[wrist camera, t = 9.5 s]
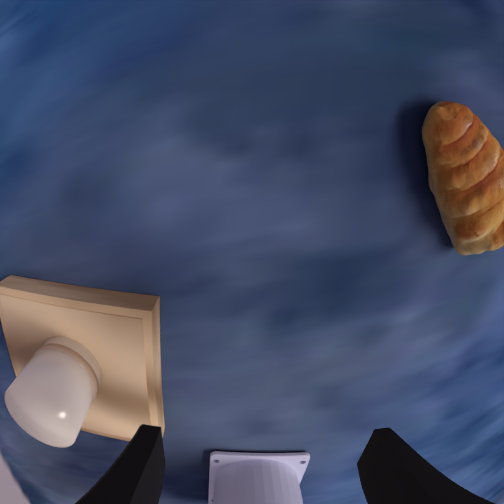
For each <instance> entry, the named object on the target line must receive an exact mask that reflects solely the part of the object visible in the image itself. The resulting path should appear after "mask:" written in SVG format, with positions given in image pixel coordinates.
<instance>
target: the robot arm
mask: <svg viewBox="0 0 504 504" xmlns="http://www.w3.org/2000/svg"><path fill="white" fill-rule="evenodd" d="M309 459H310V455H309V453H307V452H300V453H240V452H221V451H214V452H212V453H211V454H210V471H209V497H208V504H303V501H302V496H301V491H300V486H299V484H300V482H301V479H302V477H303V474H304V472H305V469H306V467H307V464H308V462H309ZM357 466H358V471H359V477H360V481H361V485H362V489H363V492H364V494H365V497H366V500H367V503H368V504H495V503H492V502H490V501H488V500H486V499H483V498H481V497H479V496H477V495H475V494H473V493H471V492H469V491H468V490H466V489H464V488H463V487H461V486H459V485H458V484H456V483H455V482H453V481H452V480H450V479H449V478H448V477H446V476H445V475H443V474H442V473H441V472H439V471H438V470H437V469H436V468H434V467H433V466H432V465H431V464H430V463H428V462H427V461H426V460H425V459H424V458H422V457H421V456H420V455H419V454H418V453H417V452H416V451H415V450H414V449H412V448H411V447H410V446H409V445H408V444H407V443H406V442H405V441H404V440H403V439H402V438H400V437H399V436H398V435H397V434H396V433H395V432H394V431H393V430H392V429H390V428H381V429H374V431H373V433H372V436H371V438H370V440H369V442H368V444H367V445H366V447H365V449H364V451H363V453H362V455H361V457H360V459H359V461H358V463H357ZM164 468H165V457H164V449H163V440H162V430H161V427H159V426H152V425H146V424H142V425H140V426H139V428H138V430H137V431H136V433H135V435H134V436H133V438H132V439H131V441H130V442H129V444H128V445H127V446H126V448H125V449H124V451H123V452H122V453H121V455H120V456H119V457H118V458H117V460H116V461H115V462H114V463H113V465H112V466H111V467H110V468H109V470H108V471H107V472H106V473H105V474H104V475H103V476H102V478H101V479H100V480H99V481H98V482H97V483H96V484H95V485H94V486H93V487H92V488H91V489H90V490H89V491H88V492H87V493H86V494H85V495H84V496H83V497H82V498H81V499H80V500H79V501H77V502H76V503H75V504H158V502H159V498H160V494H161V490H162V484H163V476H164Z"/></svg>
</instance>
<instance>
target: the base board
mask: <svg viewBox="0 0 504 504" xmlns="http://www.w3.org/2000/svg"><path fill="white" fill-rule="evenodd" d="M0 318H1V323H2V327H3V331H4V336H5V340H6V343H7V347H8V351H9V354H10V358H11V361H12V365H13V368H14V371H15V374H16V377H17V376H18V375H19V374H20V372H21V371H22V370H23V369H24V367H25V366H26V365H27V364H28V362H29V361H30V360H31V359H32V357H33V355H34V354H35V352H36V351H37V350H38V349H39V348H40V347H41V346H42V345H43V344H44V343H45V342H46V341H47V340H48V339H50V338H52V337H59V336H60V337H67V338H70V339H73V340H75V341H77V342H78V343H80V344H82V345H83V346H84V347H86V348H87V349H88V350H89V351H90V352H91V353H92V354H93V356H94V357H95V358H96V360H97V361H98V363H99V365H100V368H101V371H102V382H101V385H100V387H99V389H98V393H97V395H96V398H95V400H94V401H93V403H92V404H91V406H90V409H89V411H88V413H87V415H86V417H85V420H84V422H83V424H82V426H81V429H80V430H82V431H86V432H90V433H94V434H98V435H102V436H107V437H111V438H116V439H121V440H126V441H131V439H132V438H133V436H134V435H135V433H136V431H137V430H138V428H139V426H140V425H142V424H146V425H152V426H159V427H161V430H162V438H163V434H164V429H165V424H164V411H163V397H162V380H161V357H160V296H153V295H144V294H136V293H128V292H120V291H112V290H105V289H97V288H90V287H83V286H76V285H69V284H63V283H56V282H50V281H44V280H38V279H32V278H26V277H20V276H14V275H10V276H8V277H6V278H5V279H3V280H2V281H0Z"/></svg>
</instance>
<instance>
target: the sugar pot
mask: <svg viewBox="0 0 504 504" xmlns="http://www.w3.org/2000/svg"><path fill="white" fill-rule="evenodd" d="M101 382H102V371H101V368H100V365H99V363H98V361H97V360H96V358H95V357H94V356H93V354H92V353H91V352H90V351H89V350H88V349H87V348H86V347H84V346H83V345H82V344H80V343H78V342H77V341H75V340H73V339H70V338H67V337H60V336H59V337H52V338H50V339H48V340H47V341H46V342H45V343H44V344H43V345H42V346H41V347H40V348H39V349H38V350H37V351H36V352H35V354H34V355H33V357H32V359H31V360H30V361H29V362H28V364H27V365H26V366H25V367H24V369H23V370H22V371H21V372H20V374H19V375H18V376H17V377H16V379H15V380H14V381H13V383H12V384H11V385H10V386H9V388H8V389H7V390H6V392H5V403H6V406H7V409H8V411H9V413H10V414H11V416H12V417H13V419H14V420H15V421H16V422H17V424H18V425H19V426H20V427H21V428H22V429H23V430H25V431H26V432H27V433H28V434H30V435H31V436H32V437H34V438H36V439H37V440H39V441H41V442H43V443H45V444H48V445H51V446H55V447H68V446H71V445H72V444H73V443H74V442H75V440H76V438H77V435H78V433H79V431H80V429H81V426H82V424H83V422H84V420H85V417H86V415H87V413H88V411H89V409H90V406H91V404H92V403H93V401H94V400H95V398H96V395H97V393H98V389H99V387H100V385H101Z"/></svg>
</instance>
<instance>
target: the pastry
mask: <svg viewBox="0 0 504 504" xmlns="http://www.w3.org/2000/svg"><path fill="white" fill-rule="evenodd" d="M422 140H423V144H424V146H425V152H426V155H427V165H428V170H429V174H428V182H429V188H430V190H431V191H432V193H433V194H434V196H435V200H436V203H437V205H438V208H439V211H440V214H441V219H442V221H443V223H444V226H445V228H446V230H447V233H448V235H449V237H450V239H451V242H452V244H453V246H454V248H455V250H456V251H457V252H458V253H459V254H461V255H469V254H479V253H482V252H484V251H492V250H496V249H499V248H500V247H502V246H503V245H504V151H503V149H502V148H501V146H500V145H499V143H498V141H497V140H496V139H495V138H494V137H493V136H492V134H491V133H490V131H489V130H488V128H487V127H485V125H484V124H483V123H482V122H481V121H480V119H479V118H478V117H477V116H476V115H474V114H473V113H472V111H471V110H470V109H469V108H468V107H467V106H465V105H462V104H458V103H455V102H448V101H442V102H438V103H437V104H435V105H433V106H432V107H431V108H430V109H429V111H428V113H427V115H426V118H425V120H424V123H423V126H422Z"/></svg>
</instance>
